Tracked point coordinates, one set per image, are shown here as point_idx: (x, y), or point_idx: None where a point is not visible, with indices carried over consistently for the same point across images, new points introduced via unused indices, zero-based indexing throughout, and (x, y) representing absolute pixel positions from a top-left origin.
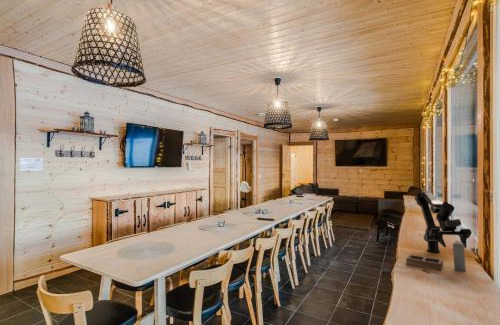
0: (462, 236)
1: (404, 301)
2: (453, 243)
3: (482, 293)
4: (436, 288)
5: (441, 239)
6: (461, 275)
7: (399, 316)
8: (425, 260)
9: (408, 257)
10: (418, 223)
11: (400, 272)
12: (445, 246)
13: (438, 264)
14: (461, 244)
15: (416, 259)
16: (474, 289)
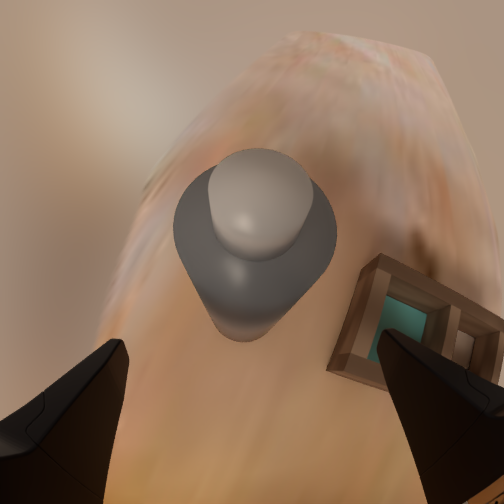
0: (34, 488)
1: (430, 80)
2: (318, 273)
3: (264, 85)
4: (387, 110)
5: (471, 377)
6: None
7: (422, 56)
8: (440, 339)
9: (501, 343)
10: None
11: (487, 228)
12: (388, 329)
13: (389, 260)
14: (206, 223)
15: (479, 317)
16: (277, 102)
